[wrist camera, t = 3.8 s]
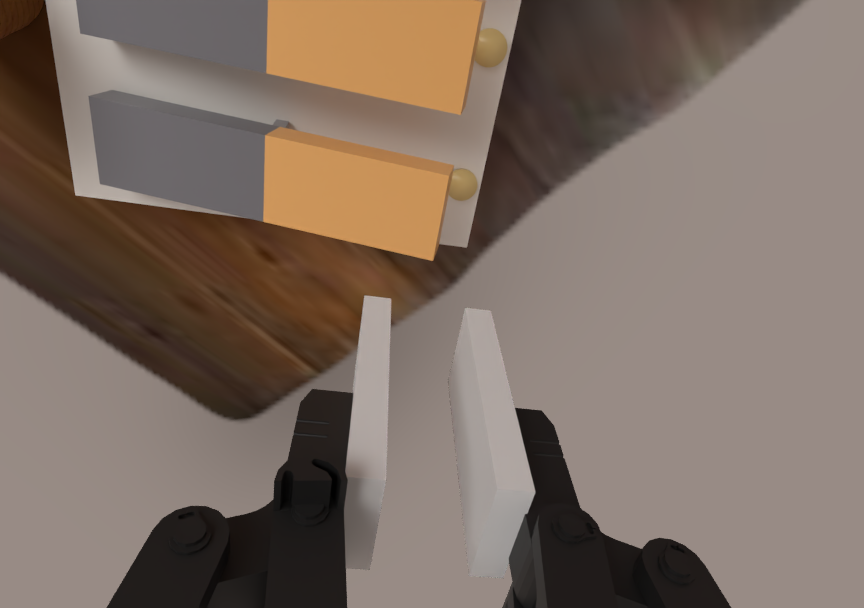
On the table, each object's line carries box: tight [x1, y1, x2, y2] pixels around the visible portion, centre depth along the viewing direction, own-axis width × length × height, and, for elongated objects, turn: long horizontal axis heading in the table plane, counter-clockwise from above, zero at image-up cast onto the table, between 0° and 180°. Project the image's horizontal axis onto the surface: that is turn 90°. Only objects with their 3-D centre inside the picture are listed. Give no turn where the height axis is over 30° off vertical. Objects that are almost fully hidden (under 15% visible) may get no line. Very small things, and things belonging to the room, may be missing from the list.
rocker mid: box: [76, 0, 486, 115], centre depth 23 cm, size 16×4×2 cm, turn 80°
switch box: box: [45, 0, 521, 248], centre depth 27 cm, size 20×20×8 cm
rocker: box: [88, 90, 454, 261], centre depth 26 cm, size 16×4×2 cm, turn 80°
